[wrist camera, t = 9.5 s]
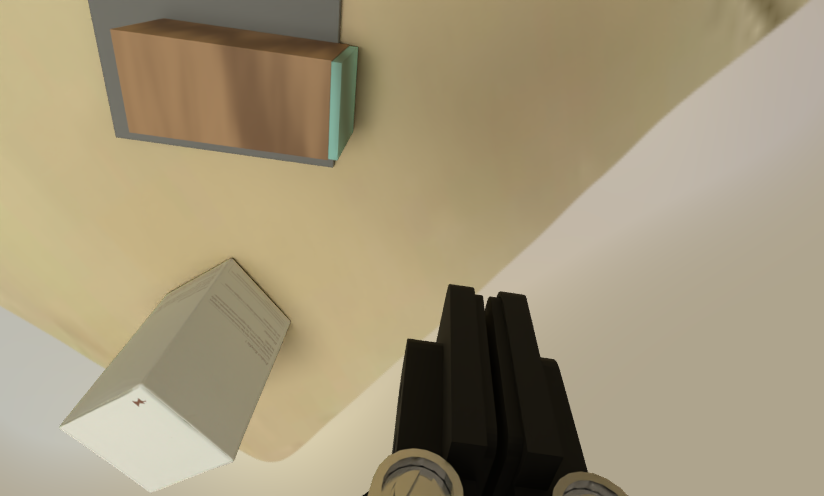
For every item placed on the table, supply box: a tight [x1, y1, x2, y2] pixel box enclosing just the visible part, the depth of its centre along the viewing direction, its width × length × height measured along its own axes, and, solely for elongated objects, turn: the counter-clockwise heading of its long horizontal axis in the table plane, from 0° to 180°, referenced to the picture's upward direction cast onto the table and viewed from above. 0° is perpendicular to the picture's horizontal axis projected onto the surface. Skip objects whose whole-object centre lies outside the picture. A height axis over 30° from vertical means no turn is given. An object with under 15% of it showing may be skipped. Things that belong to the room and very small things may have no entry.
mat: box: [88, 0, 341, 168], centre depth 28 cm, size 14×10×1 cm
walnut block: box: [110, 18, 358, 160], centre depth 26 cm, size 5×5×11 cm
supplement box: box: [59, 258, 291, 493], centre depth 33 cm, size 7×7×13 cm
